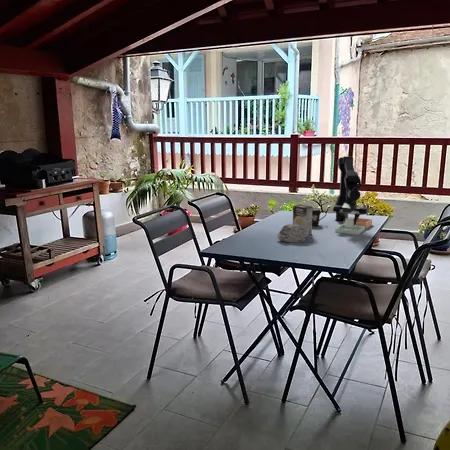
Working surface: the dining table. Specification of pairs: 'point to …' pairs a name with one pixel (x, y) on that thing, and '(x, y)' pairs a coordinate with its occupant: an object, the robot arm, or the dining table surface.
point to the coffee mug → (316, 216)
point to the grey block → (349, 222)
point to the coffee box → (303, 217)
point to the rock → (292, 233)
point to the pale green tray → (350, 229)
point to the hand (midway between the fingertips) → (350, 224)
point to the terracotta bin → (363, 222)
